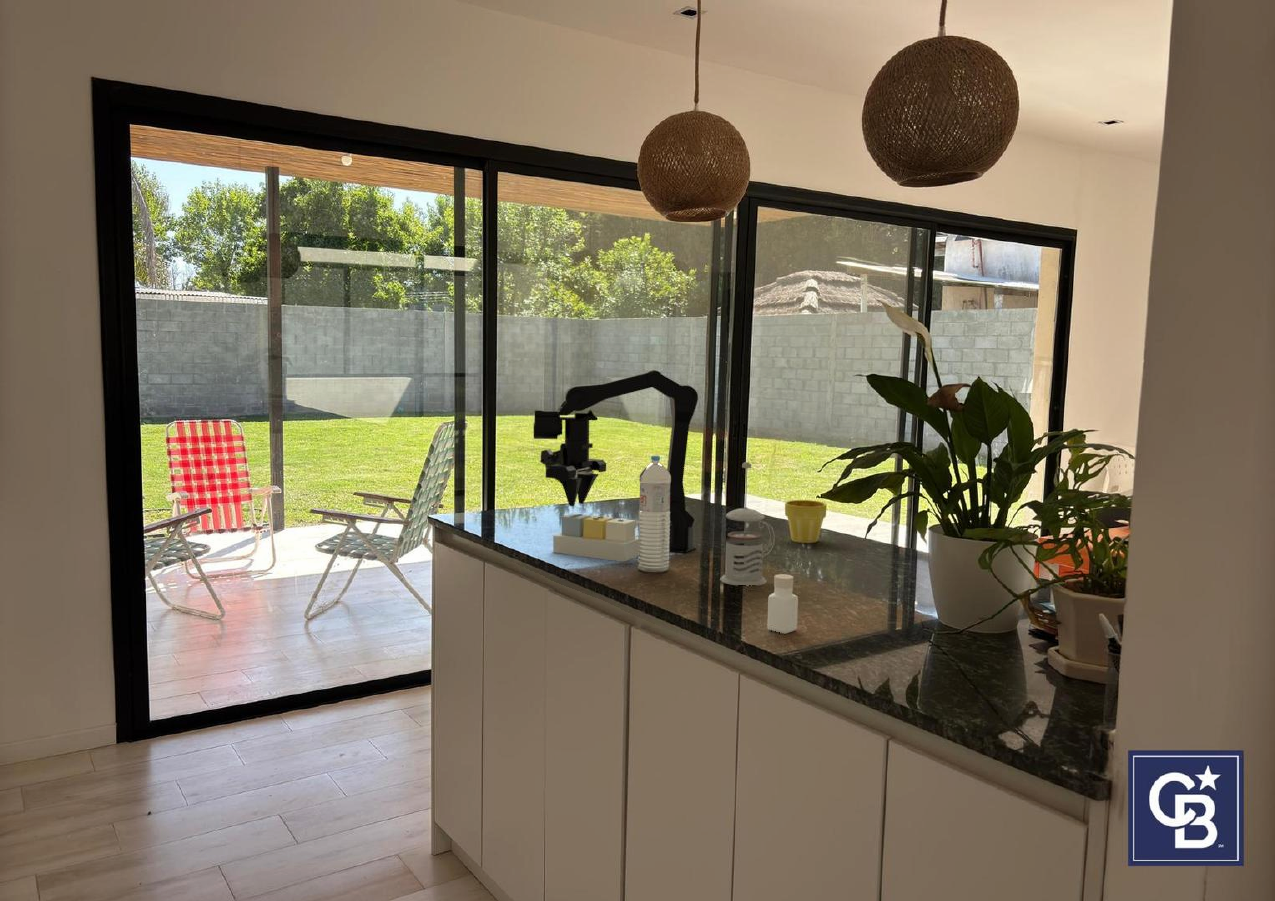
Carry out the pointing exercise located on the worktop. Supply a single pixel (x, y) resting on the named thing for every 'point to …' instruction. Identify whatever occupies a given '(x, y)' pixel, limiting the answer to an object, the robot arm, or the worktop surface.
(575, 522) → the slate tile
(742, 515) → the french press
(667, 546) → the water bottle
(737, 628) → the worktop surface
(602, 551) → the panel
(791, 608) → the white pill bottle
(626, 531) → the cream tile
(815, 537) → the plant pot
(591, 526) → the mustard tile
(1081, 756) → the worktop surface
